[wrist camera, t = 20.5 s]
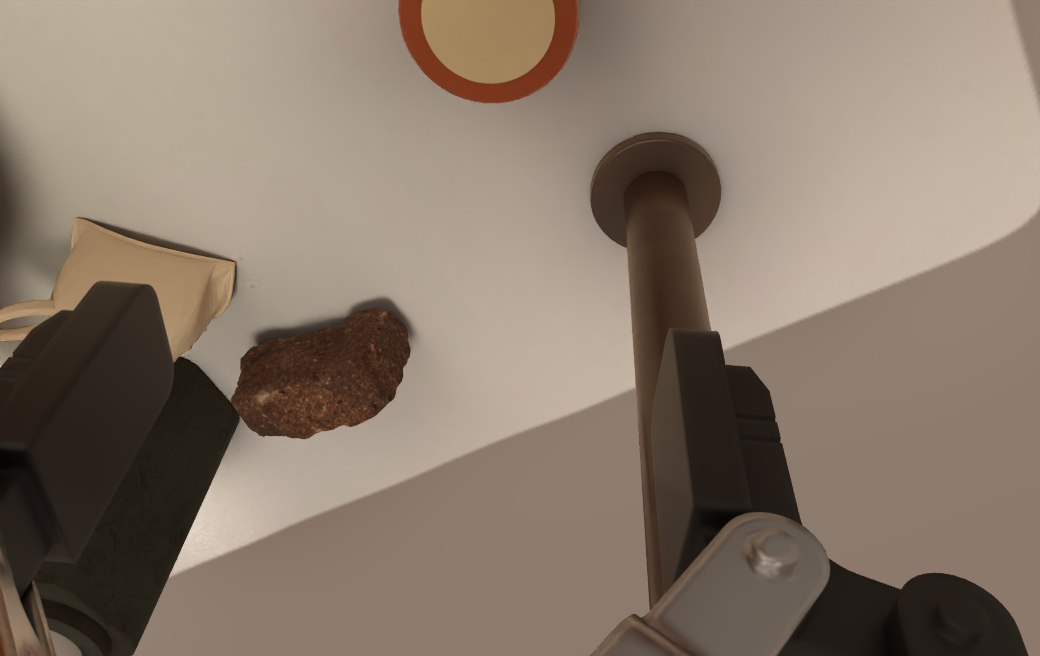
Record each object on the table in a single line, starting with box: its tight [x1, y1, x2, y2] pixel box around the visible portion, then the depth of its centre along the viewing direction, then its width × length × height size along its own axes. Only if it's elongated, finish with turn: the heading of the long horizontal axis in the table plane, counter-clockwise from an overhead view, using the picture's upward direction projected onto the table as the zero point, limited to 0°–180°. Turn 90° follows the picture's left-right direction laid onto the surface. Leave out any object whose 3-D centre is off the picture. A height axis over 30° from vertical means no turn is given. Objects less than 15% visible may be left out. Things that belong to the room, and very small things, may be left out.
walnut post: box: [591, 133, 721, 610], centre depth 23 cm, size 5×5×28 cm
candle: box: [33, 358, 239, 656], centre depth 33 cm, size 5×5×25 cm
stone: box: [231, 308, 410, 439], centre depth 38 cm, size 8×3×5 cm, turn 114°
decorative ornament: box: [0, 218, 235, 362], centre depth 36 cm, size 4×8×5 cm, turn 71°
